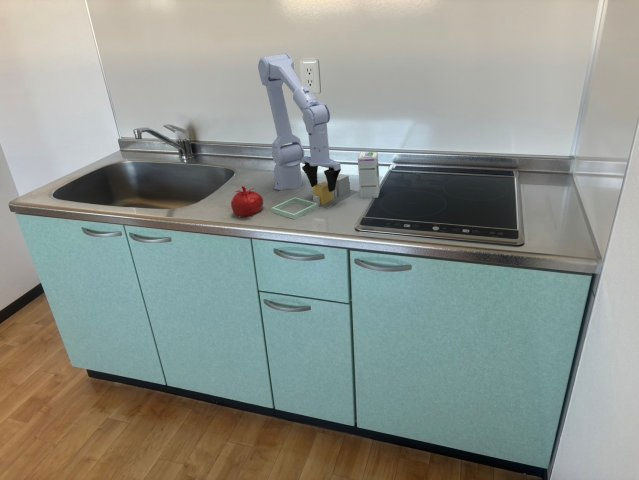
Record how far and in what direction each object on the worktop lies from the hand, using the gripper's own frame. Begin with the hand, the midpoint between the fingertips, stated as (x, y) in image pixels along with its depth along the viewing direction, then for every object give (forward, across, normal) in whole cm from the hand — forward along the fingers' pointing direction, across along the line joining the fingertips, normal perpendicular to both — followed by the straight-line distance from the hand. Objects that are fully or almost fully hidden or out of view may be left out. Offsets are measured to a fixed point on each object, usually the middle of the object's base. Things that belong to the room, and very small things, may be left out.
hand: (323, 188), depth 153 cm
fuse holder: (+6, 0, +4) cm, 7 cm away
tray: (+6, -3, -10) cm, 12 cm away
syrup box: (+6, +9, +12) cm, 16 cm away
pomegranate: (+6, -16, -18) cm, 25 cm away
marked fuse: (+4, 0, 0) cm, 4 cm away
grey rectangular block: (+4, 0, +8) cm, 9 cm away
